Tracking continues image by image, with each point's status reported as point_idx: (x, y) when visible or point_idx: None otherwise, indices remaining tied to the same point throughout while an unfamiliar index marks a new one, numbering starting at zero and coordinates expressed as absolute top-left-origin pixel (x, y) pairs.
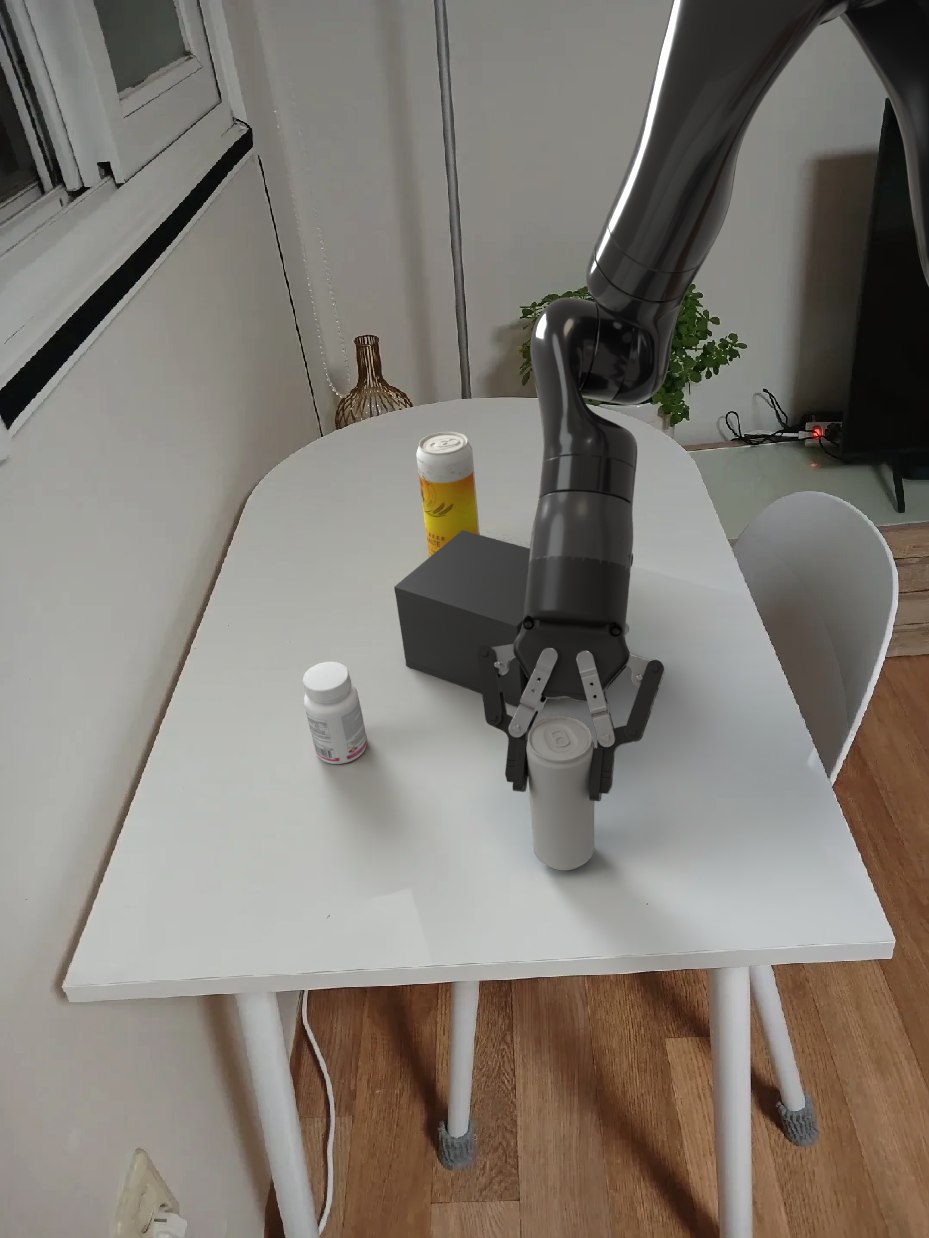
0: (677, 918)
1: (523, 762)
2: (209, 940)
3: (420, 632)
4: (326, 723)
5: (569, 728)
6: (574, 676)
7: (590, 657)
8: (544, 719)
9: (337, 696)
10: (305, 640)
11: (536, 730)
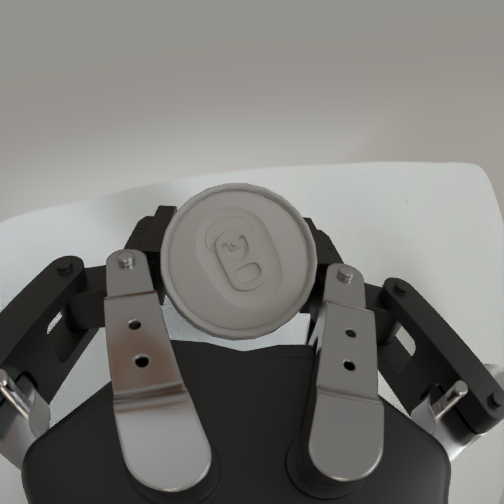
0: (108, 222)
1: None
2: (454, 183)
3: None
4: (485, 365)
5: (219, 295)
6: (217, 408)
7: (138, 458)
8: (287, 317)
9: (498, 381)
10: (471, 474)
11: (300, 282)
